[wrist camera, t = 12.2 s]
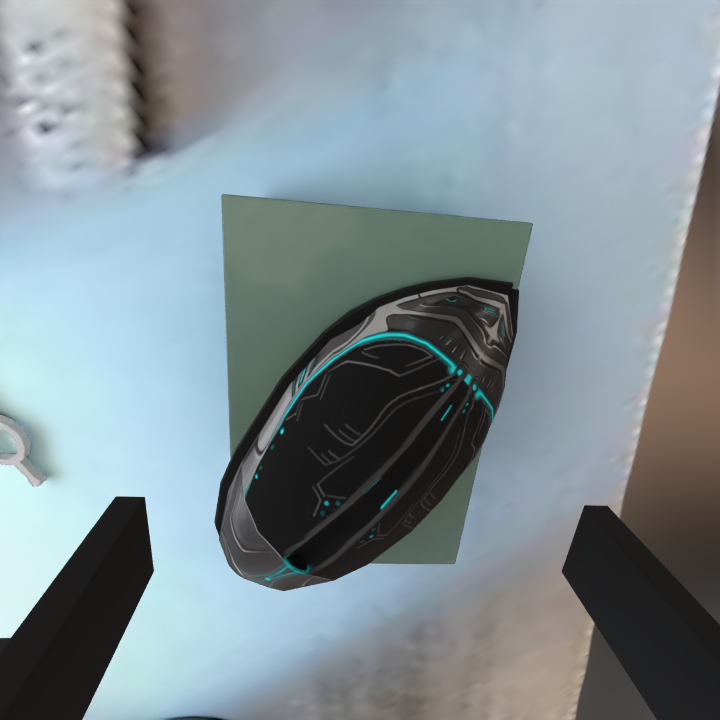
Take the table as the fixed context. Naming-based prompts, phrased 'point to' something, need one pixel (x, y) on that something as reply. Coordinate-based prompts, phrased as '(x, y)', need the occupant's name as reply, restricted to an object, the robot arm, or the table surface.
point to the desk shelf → (344, 303)
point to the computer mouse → (367, 432)
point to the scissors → (20, 452)
